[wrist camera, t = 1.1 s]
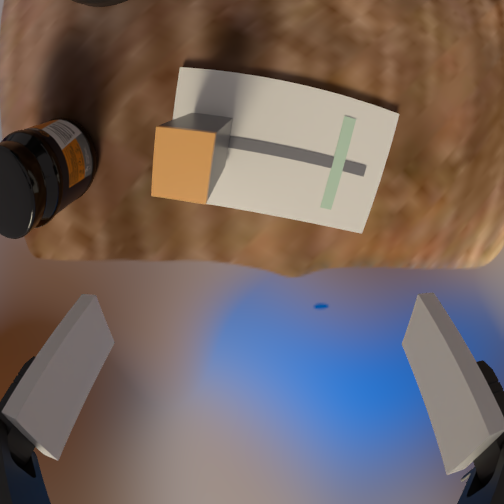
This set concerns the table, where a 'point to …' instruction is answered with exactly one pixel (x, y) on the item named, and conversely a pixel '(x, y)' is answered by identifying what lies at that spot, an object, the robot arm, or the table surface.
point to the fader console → (292, 146)
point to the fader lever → (190, 156)
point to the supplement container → (43, 173)
